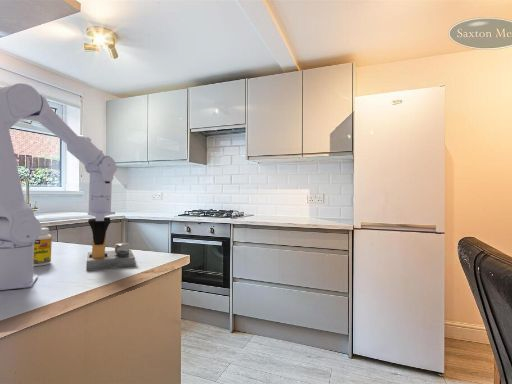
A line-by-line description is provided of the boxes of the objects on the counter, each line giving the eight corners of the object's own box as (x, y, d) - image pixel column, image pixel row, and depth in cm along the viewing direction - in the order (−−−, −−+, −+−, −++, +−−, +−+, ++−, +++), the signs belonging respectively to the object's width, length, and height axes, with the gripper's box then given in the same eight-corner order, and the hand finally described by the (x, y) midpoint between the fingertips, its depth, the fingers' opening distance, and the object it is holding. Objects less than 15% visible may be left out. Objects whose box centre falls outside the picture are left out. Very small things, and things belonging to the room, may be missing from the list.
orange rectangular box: (91, 258, 82) (93, 233, 82) (92, 255, 85) (93, 231, 85) (104, 257, 83) (105, 233, 83) (104, 255, 86) (105, 231, 86)
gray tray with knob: (86, 270, 77) (86, 249, 77) (87, 260, 88) (88, 242, 88) (134, 266, 83) (135, 247, 83) (130, 257, 94) (131, 240, 94)
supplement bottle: (25, 267, 78) (26, 230, 78) (27, 263, 83) (28, 227, 83) (50, 265, 81) (51, 229, 81) (51, 261, 86) (52, 226, 86)
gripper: (116, 197, 80) (115, 247, 80) (114, 196, 92) (113, 238, 92) (87, 197, 76) (85, 248, 76) (88, 195, 89) (87, 239, 89)
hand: (98, 243), depth 84 cm, fingers closed on orange rectangular box, 3 cm apart
